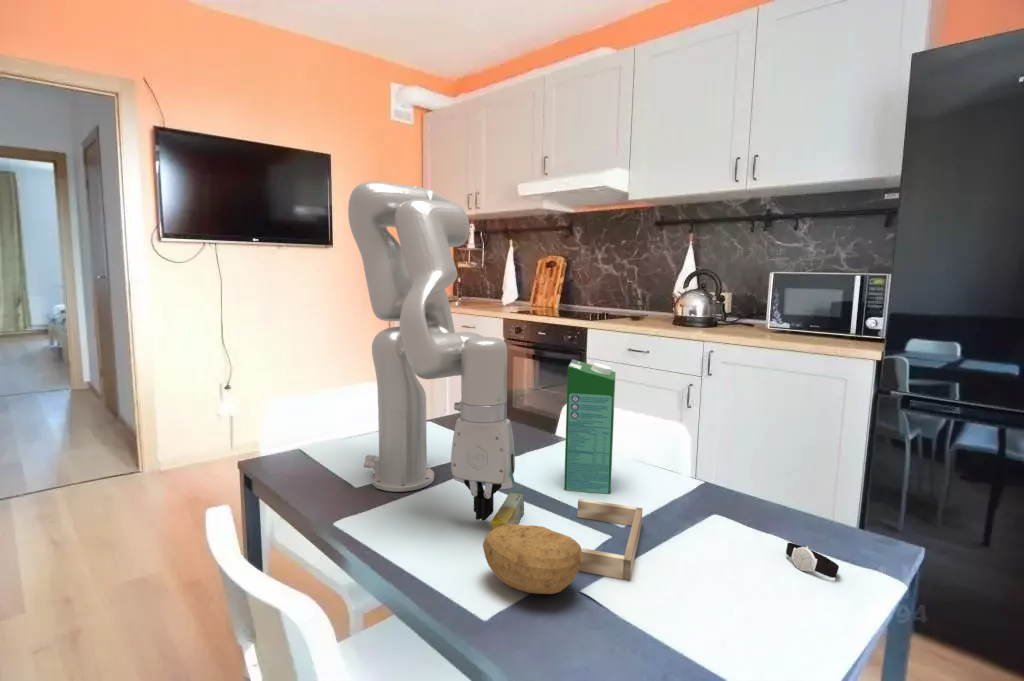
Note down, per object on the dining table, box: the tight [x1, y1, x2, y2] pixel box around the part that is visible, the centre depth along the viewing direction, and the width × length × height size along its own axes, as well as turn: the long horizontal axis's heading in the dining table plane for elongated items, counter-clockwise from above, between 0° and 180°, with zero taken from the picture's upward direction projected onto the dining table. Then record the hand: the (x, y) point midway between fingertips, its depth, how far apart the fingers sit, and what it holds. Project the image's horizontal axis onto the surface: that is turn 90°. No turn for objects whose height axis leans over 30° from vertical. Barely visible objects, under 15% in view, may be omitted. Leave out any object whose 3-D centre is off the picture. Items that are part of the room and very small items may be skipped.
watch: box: [785, 542, 840, 579], centre depth 80 cm, size 8×5×4 cm, turn 24°
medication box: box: [490, 491, 525, 532], centre depth 91 cm, size 12×3×4 cm, turn 166°
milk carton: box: [563, 359, 617, 495], centre depth 109 cm, size 9×9×25 cm
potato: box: [482, 524, 582, 595], centre depth 74 cm, size 10×14×8 cm
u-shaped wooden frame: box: [576, 498, 643, 582], centre depth 86 cm, size 11×18×3 cm, turn 161°
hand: (483, 516), depth 92 cm, fingers closed
